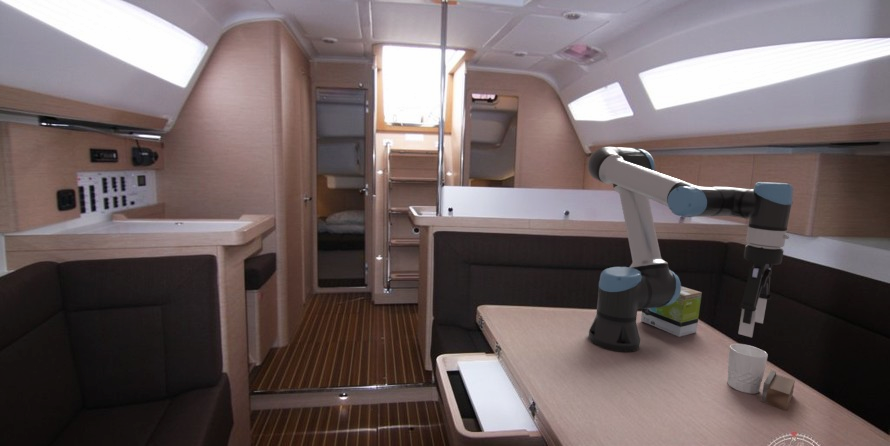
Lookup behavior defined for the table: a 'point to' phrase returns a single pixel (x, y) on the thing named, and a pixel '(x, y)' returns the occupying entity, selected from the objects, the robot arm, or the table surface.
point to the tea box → (676, 314)
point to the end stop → (777, 390)
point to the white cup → (746, 367)
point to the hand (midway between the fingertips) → (751, 328)
